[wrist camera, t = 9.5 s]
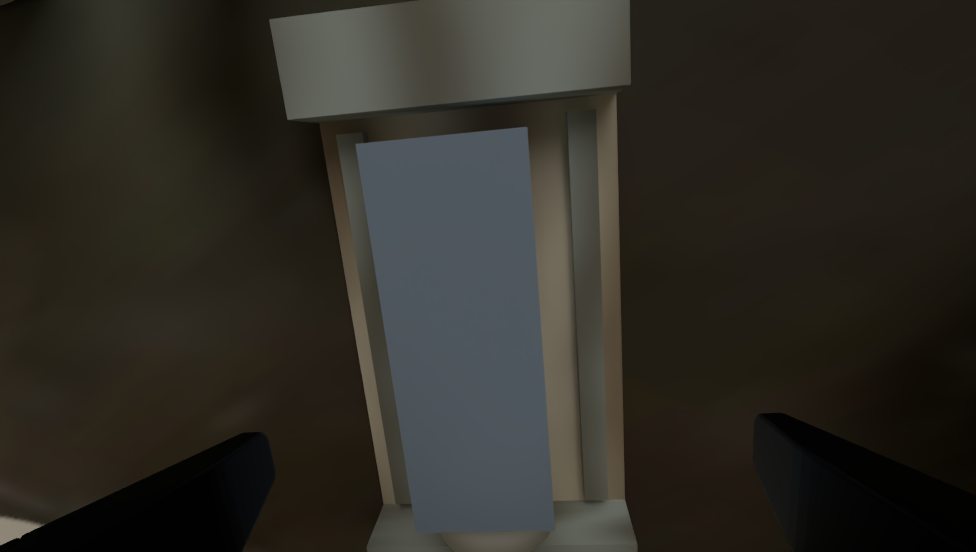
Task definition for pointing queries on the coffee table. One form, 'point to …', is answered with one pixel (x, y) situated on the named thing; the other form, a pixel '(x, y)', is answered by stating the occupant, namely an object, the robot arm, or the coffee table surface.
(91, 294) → the coffee table surface
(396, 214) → the slate grey rectangular prism
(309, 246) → the coffee table surface
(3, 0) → the travel mug
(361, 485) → the coffee table surface
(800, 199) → the coffee table surface
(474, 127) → the cradle
